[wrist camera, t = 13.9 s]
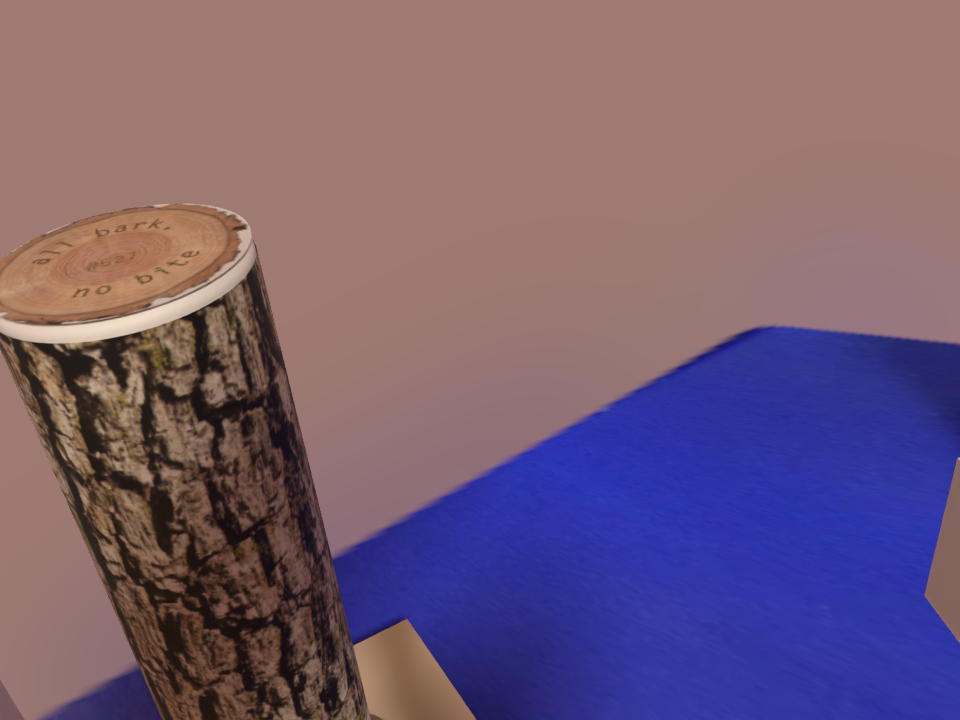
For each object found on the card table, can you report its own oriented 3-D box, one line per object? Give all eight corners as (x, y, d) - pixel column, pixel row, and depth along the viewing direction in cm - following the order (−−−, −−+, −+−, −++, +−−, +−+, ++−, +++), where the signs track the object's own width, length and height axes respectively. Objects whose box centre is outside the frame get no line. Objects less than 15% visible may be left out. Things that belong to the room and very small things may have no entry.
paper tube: (206, 781, 39) (-21, 242, 25) (358, 714, 41) (224, 184, 27) (239, 934, 33) (-26, 356, 20) (413, 849, 35) (280, 272, 22)
